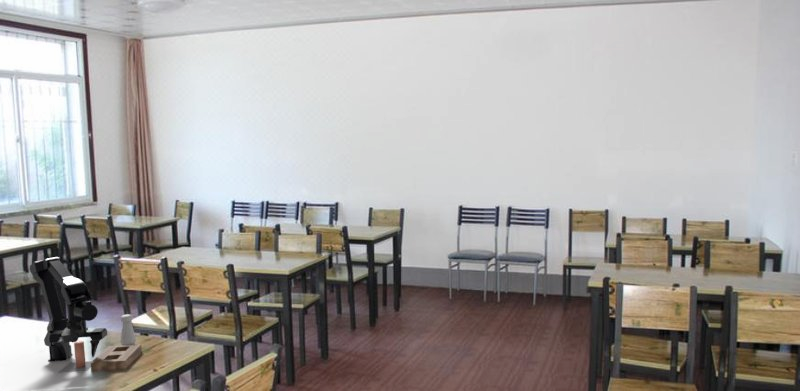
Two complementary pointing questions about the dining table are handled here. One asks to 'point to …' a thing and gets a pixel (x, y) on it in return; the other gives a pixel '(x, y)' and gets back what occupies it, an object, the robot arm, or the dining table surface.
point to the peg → (79, 354)
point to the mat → (72, 367)
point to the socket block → (116, 357)
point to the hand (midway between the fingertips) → (80, 357)
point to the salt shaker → (127, 331)
